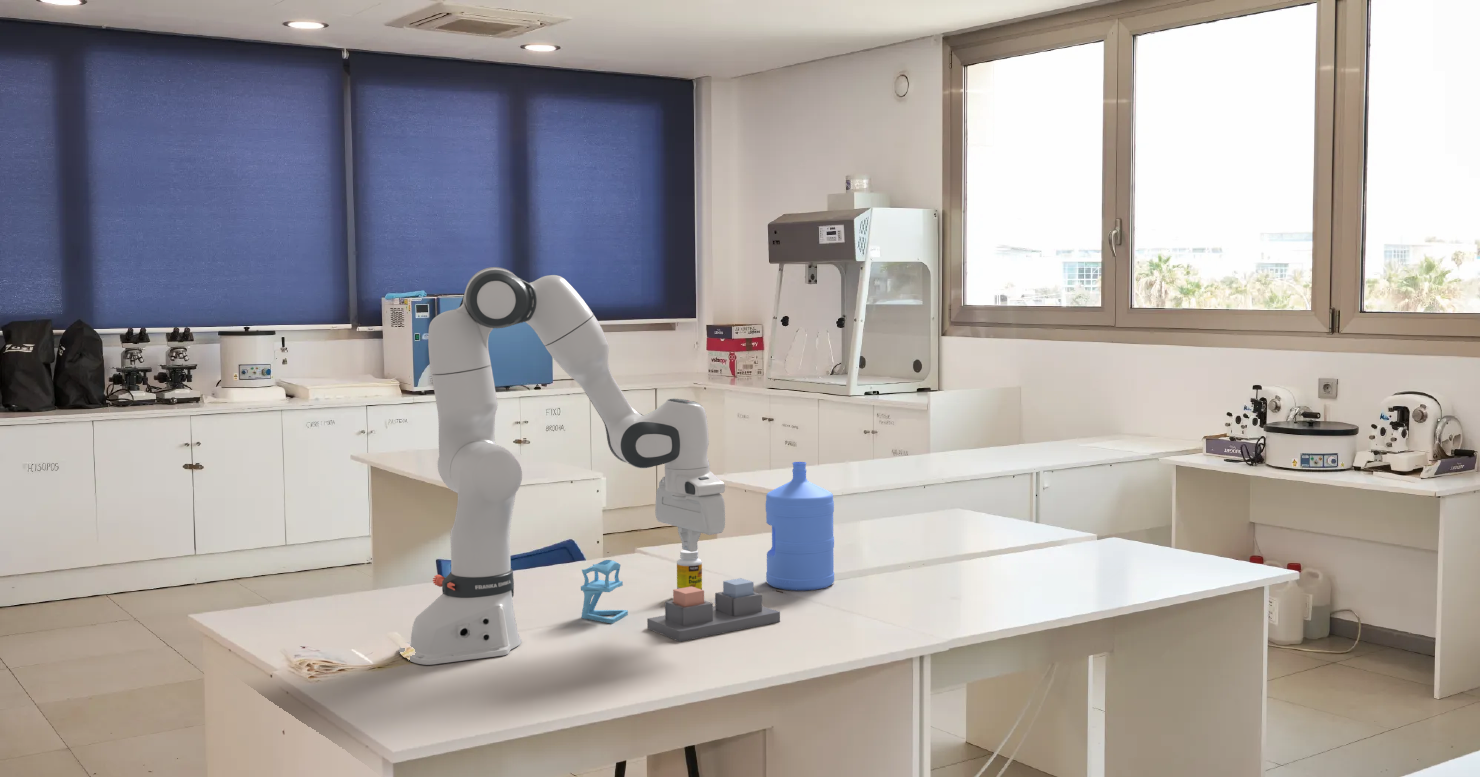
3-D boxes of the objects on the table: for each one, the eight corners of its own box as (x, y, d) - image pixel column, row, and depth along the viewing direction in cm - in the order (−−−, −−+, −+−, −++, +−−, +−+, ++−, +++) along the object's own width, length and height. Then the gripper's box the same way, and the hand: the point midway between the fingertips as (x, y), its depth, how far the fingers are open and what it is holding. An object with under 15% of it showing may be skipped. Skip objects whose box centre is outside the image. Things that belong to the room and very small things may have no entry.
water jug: (846, 580, 282) (845, 460, 280) (813, 594, 269) (812, 468, 267) (787, 573, 290) (786, 456, 288) (753, 586, 277) (752, 464, 275)
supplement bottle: (688, 601, 264) (687, 554, 263) (671, 596, 268) (671, 551, 267) (707, 596, 268) (707, 550, 267) (690, 592, 272) (690, 547, 271)
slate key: (735, 599, 244) (735, 585, 244) (723, 595, 248) (723, 581, 248) (753, 596, 247) (753, 581, 246) (741, 592, 250) (740, 578, 250)
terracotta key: (685, 608, 237) (685, 593, 237) (673, 604, 241) (673, 589, 241) (704, 605, 240) (704, 590, 240) (692, 601, 243) (691, 586, 243)
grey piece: (679, 641, 232) (679, 613, 232) (647, 628, 242) (647, 601, 242) (780, 621, 246) (779, 594, 246) (745, 609, 256) (745, 584, 255)
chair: (592, 611, 256) (591, 555, 255) (628, 614, 253) (627, 557, 252) (575, 621, 249) (574, 563, 248) (612, 623, 246) (611, 565, 245)
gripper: (646, 477, 245) (648, 544, 246) (702, 488, 229) (704, 561, 230) (673, 473, 249) (675, 540, 250) (730, 484, 232) (732, 556, 233)
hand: (689, 550), depth 240 cm, fingers closed
